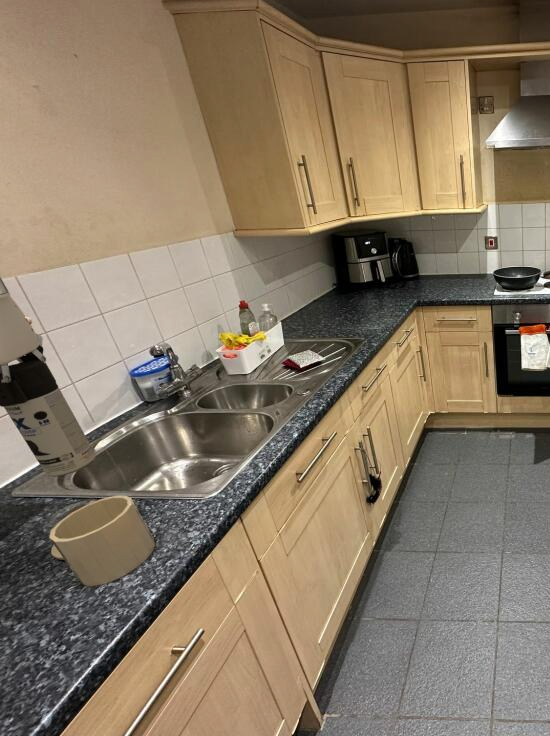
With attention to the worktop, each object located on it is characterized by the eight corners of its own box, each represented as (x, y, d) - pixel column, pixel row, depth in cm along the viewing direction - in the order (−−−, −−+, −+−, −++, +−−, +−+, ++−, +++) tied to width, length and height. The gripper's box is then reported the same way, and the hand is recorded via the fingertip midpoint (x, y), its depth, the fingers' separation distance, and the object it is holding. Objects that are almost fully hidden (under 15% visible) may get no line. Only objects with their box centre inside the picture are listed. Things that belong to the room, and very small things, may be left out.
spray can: (38, 474, 73) (-26, 374, 65) (85, 451, 79) (31, 357, 71) (60, 480, 71) (-5, 378, 63) (106, 457, 76) (52, 360, 69)
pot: (66, 595, 68) (33, 550, 64) (100, 547, 77) (73, 505, 73) (140, 573, 71) (113, 529, 67) (164, 530, 80) (142, 489, 76)
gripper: (-20, 284, 68) (35, 378, 75) (-123, 309, 53) (-42, 425, 60) (38, 278, 71) (86, 370, 77) (-46, 301, 55) (24, 413, 62)
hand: (30, 393), depth 69 cm, fingers closed on spray can, 6 cm apart
